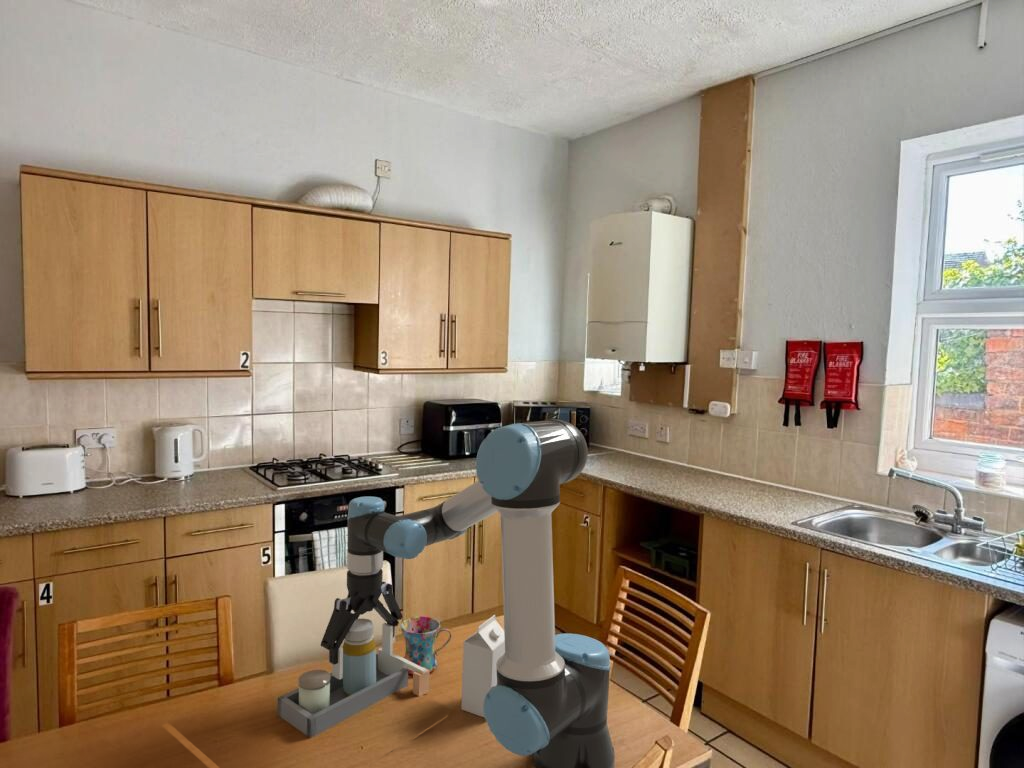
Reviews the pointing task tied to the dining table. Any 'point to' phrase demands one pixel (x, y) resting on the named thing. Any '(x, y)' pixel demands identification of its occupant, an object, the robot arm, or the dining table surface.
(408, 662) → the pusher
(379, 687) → the grey tray
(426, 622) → the mug
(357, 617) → the robot arm
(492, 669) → the milk carton
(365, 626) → the bottle
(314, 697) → the jar
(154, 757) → the dining table surface
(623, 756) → the dining table surface
